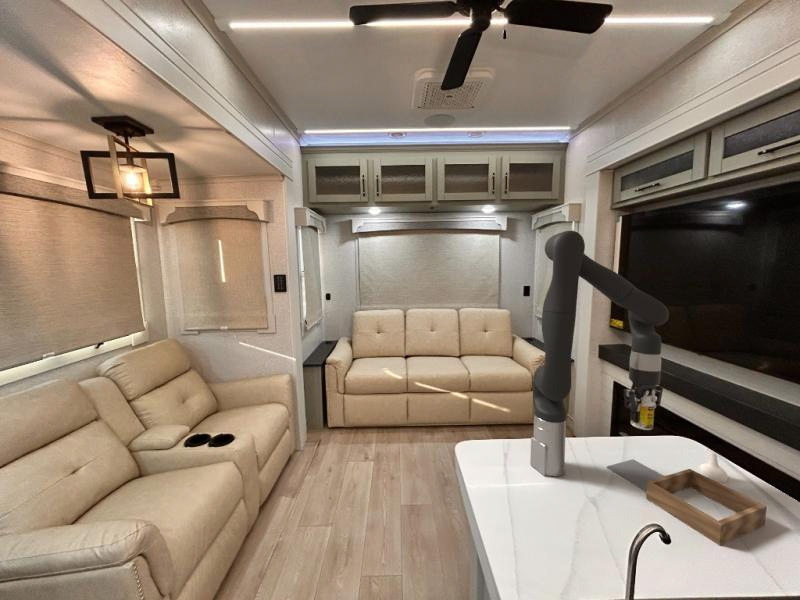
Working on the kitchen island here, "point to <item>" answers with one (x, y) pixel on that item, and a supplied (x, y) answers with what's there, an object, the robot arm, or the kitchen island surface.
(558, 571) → the kitchen island surface
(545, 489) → the kitchen island surface
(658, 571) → the kitchen island surface
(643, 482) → the mat
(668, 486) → the crate frame
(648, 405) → the supplement bottle
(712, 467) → the garlic bulb
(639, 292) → the robot arm
